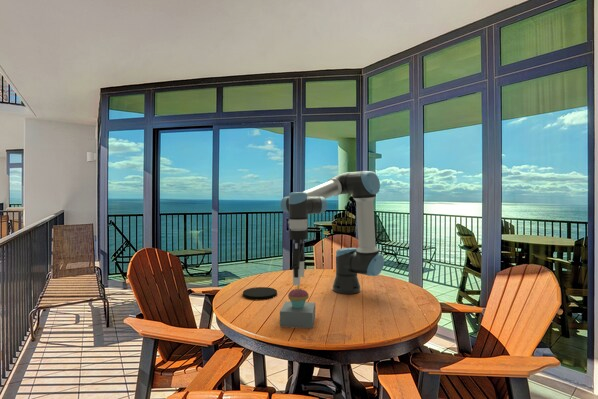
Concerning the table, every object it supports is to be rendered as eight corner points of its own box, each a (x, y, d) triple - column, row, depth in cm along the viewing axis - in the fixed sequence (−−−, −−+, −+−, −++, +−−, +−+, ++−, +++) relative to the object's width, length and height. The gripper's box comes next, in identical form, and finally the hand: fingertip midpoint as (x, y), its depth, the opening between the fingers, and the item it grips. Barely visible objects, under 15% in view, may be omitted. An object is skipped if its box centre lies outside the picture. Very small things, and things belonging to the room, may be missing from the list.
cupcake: (287, 303, 145) (287, 275, 145) (307, 303, 146) (307, 275, 146) (288, 310, 136) (289, 280, 136) (310, 309, 137) (310, 280, 137)
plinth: (315, 316, 146) (315, 302, 146) (312, 328, 133) (312, 312, 133) (285, 315, 148) (285, 301, 148) (279, 326, 135) (279, 311, 135)
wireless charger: (267, 289, 191) (267, 285, 191) (283, 297, 176) (283, 293, 176) (237, 293, 182) (237, 290, 182) (251, 302, 167) (251, 298, 167)
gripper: (293, 226, 153) (294, 273, 154) (284, 233, 129) (284, 289, 129) (310, 226, 152) (310, 273, 153) (303, 233, 128) (304, 289, 128)
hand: (298, 280), depth 141 cm, fingers open, 13 cm apart
